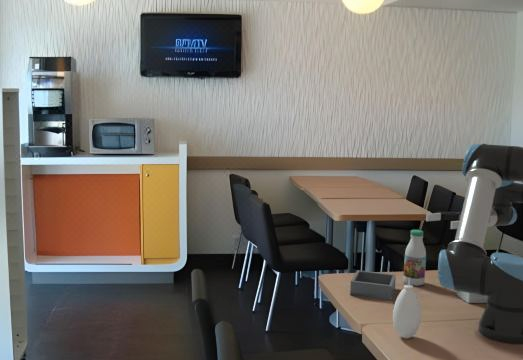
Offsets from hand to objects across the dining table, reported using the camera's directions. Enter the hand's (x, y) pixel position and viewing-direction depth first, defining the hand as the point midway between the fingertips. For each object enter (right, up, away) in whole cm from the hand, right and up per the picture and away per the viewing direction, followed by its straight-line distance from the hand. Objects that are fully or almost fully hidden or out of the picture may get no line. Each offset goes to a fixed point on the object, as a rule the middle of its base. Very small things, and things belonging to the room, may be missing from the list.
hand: (438, 221), depth 222 cm
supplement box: (+7, -26, -16) cm, 32 cm away
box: (-27, -24, -12) cm, 38 cm away
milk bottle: (-10, -23, -1) cm, 25 cm away
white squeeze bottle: (-25, -30, -51) cm, 64 cm away
